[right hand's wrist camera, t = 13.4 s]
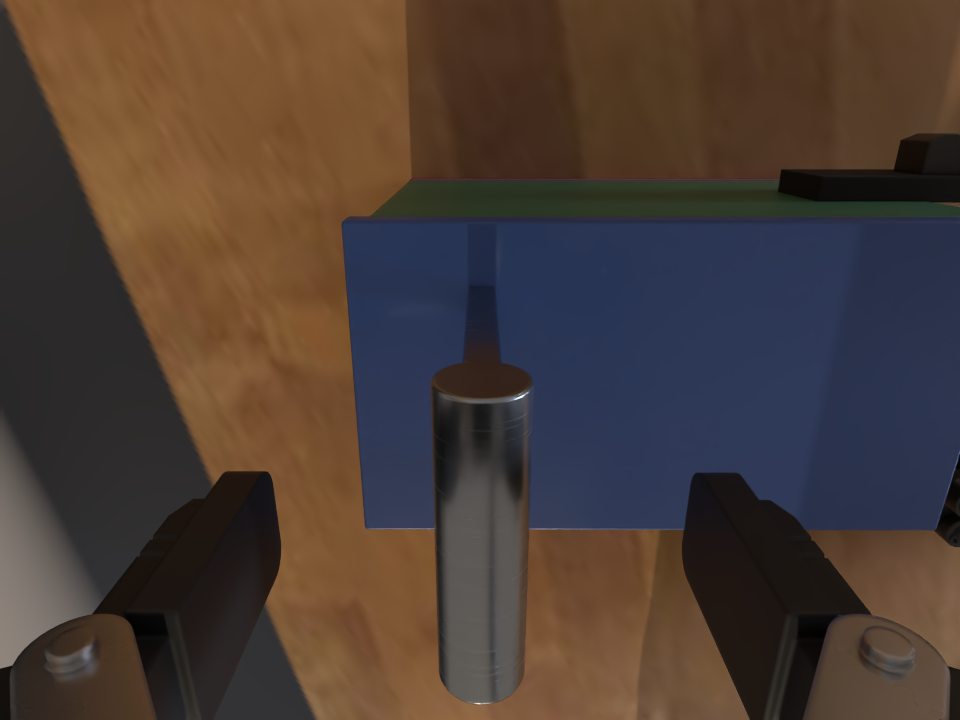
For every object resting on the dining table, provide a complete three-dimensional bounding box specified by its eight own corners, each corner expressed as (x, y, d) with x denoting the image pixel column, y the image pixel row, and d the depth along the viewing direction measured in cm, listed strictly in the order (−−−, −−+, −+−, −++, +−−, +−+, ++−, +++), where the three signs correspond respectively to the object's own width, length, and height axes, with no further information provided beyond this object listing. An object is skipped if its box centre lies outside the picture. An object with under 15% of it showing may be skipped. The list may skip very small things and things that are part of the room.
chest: (418, 381, 29) (387, 514, 19) (411, 178, 26) (369, 215, 16) (771, 381, 29) (918, 514, 19) (808, 178, 26) (1007, 215, 16)
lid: (369, 514, 19) (298, 764, 12) (347, 216, 16) (231, 301, 9) (919, 515, 19) (1195, 766, 12) (1008, 216, 16) (1465, 302, 9)
